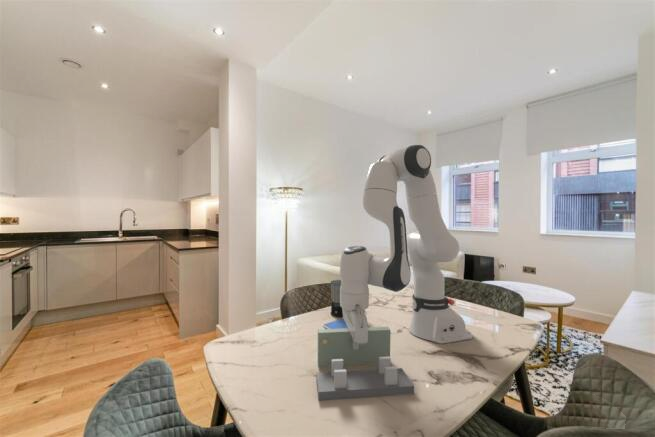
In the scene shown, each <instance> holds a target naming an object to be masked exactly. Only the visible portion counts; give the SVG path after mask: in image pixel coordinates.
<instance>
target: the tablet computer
mask: <svg viewBox="0 0 655 437" xmlns="http://www.w3.org/2000/svg"><path fill="white" fill-rule="evenodd" d="M322 327H323V328H324V329H342V328H348V327H347V325H346V323H345V321H344V318H343V317H342V318H341V319H337V320H334V321H329V322H327V323H324V324H322Z"/></svg>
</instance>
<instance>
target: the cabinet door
mask: <svg viewBox="0 0 655 437" xmlns="http://www.w3.org/2000/svg"><path fill="white" fill-rule="evenodd" d="M352 341H353V338H352V336H351V334H350V332H349V329H348V328H342V329H327V328H322V329H321V328H320V329H317V367H332V359H343V366H353V365H369V364H370V365H373V364H379V357H388V356H389V357H390V358H391V329H390V328H389V326H376V327H375V326H374V327H373V326H372V327H371V326H370V327H368V342H367V344H362V345H359V349H357V350H354V349H353V347H352Z"/></svg>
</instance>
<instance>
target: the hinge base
mask: <svg viewBox="0 0 655 437" xmlns="http://www.w3.org/2000/svg"><path fill="white" fill-rule="evenodd" d="M391 360H392V359H391V356H390V357H389V356H388V357H379V363H378V369H365V370H364V369H363V370H360V369H359V370H347V368H346V369H345V368H344V365H343V359H332V366H331V371H329V372H327V371H326V372H316V376H315V377H316V390H317V398H318V401H328V400H342V399H343V400H344V399H356V398H357V399H359V398H373V397H374V398H375V397H391V396H400V395H401V396H403V395H414V394H415V384H413V382H412V381H411V379H410V378H409V376H408V375H407V373H406V371H405V370H404V369H403V367H398V368H397V366H391V363H392V362H391Z"/></svg>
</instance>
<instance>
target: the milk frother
mask: <svg viewBox="0 0 655 437" xmlns="http://www.w3.org/2000/svg"><path fill="white" fill-rule="evenodd" d="M340 287H341V279H334V280H331V281H330V290H331V291H330V294H331V295H330V296H331V297H330V298H331V300H330V301H331V306H330V315H331V316H333V317H336V318H343V313H342V307H341V306H340Z"/></svg>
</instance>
